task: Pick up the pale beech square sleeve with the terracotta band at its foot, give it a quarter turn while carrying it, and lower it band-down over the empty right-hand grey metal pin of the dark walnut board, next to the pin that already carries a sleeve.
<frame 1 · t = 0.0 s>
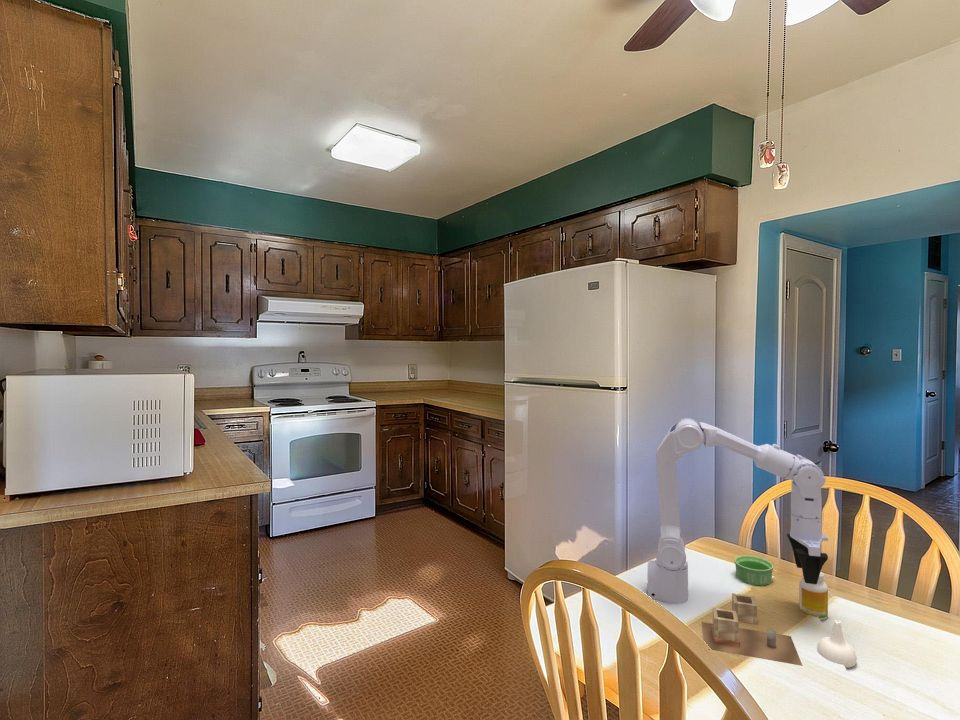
hand: (806, 575, 111), 10 cm above the table, tool pointing down, fingers open, 7 cm apart
garlic bulb: (836, 660, 98), on the table
pin board: (748, 646, 103), on the table
ramekin: (753, 579, 131), on the table
supplement bottle: (813, 615, 114), on the table
seated sleeve: (725, 638, 104), point 1 cm above the table, touching pin board
banded sleeve: (744, 621, 112), on the table
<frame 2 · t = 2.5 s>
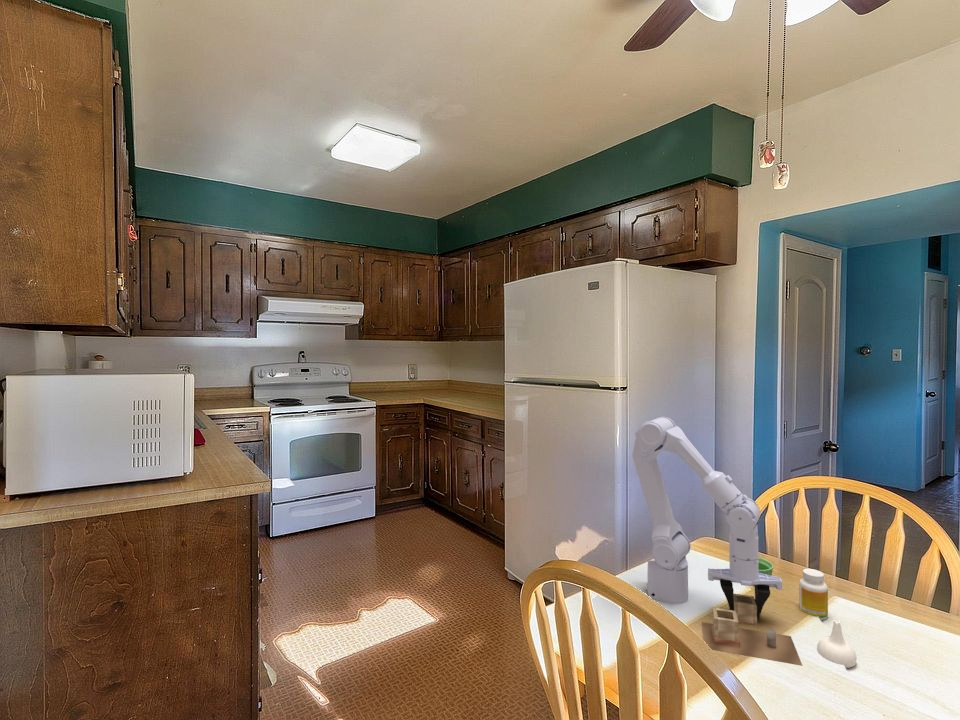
hand: (744, 615, 112), 1 cm above the table, tool pointing down, fingers closed on banded sleeve, 4 cm apart
banded sleeve: (744, 621, 112), on the table, touching gripper
everything else where it was.
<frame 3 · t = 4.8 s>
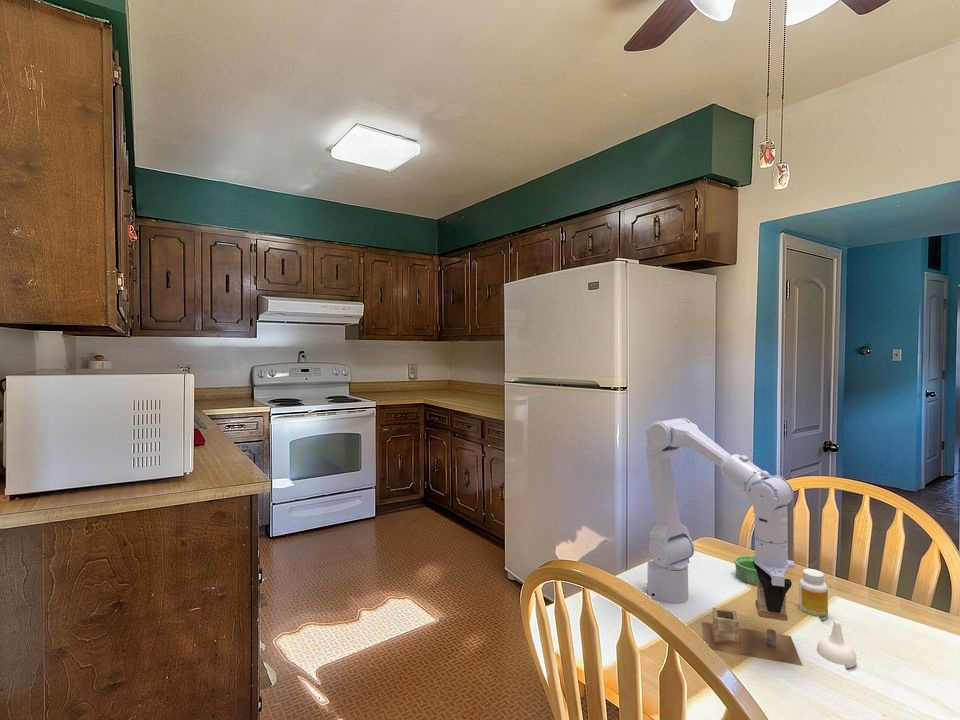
hand: (771, 605, 101), 9 cm above the table, tool pointing down, fingers closed on banded sleeve, 4 cm apart
banded sleeve: (771, 612, 101), point 8 cm above the table, touching gripper
everything else where it was.
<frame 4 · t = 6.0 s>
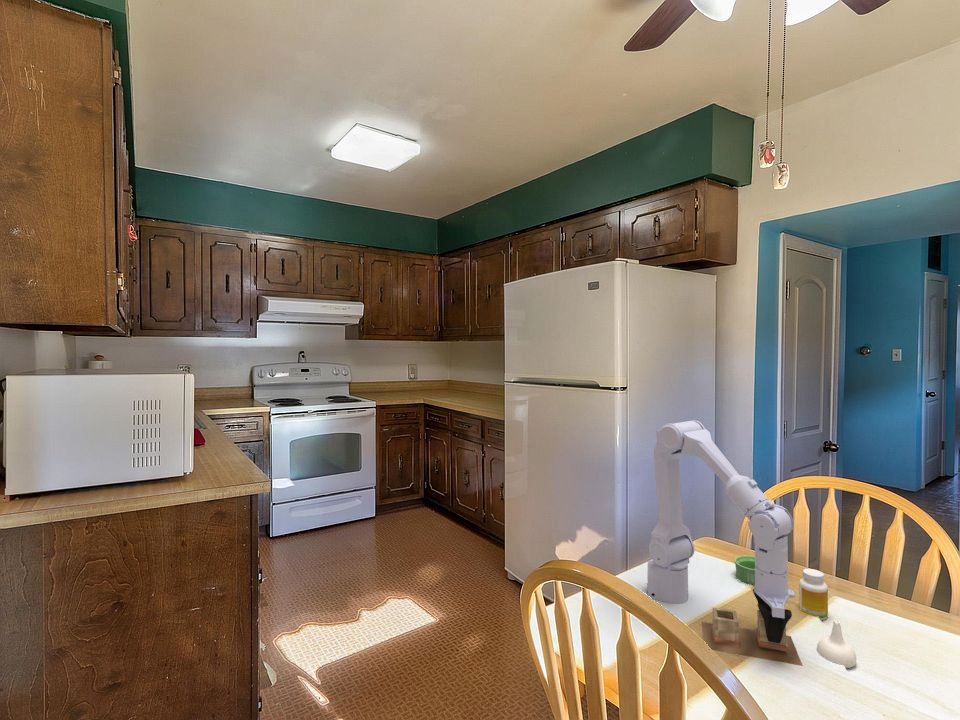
hand: (771, 634, 101), 3 cm above the table, tool pointing down, fingers closed on banded sleeve, 4 cm apart
banded sleeve: (771, 641, 101), point 2 cm above the table, touching gripper
everything else where it was.
when the fingers open (3 cm above the table, at t = 7.0 s): banded sleeve stays where it is, resting on pin board.
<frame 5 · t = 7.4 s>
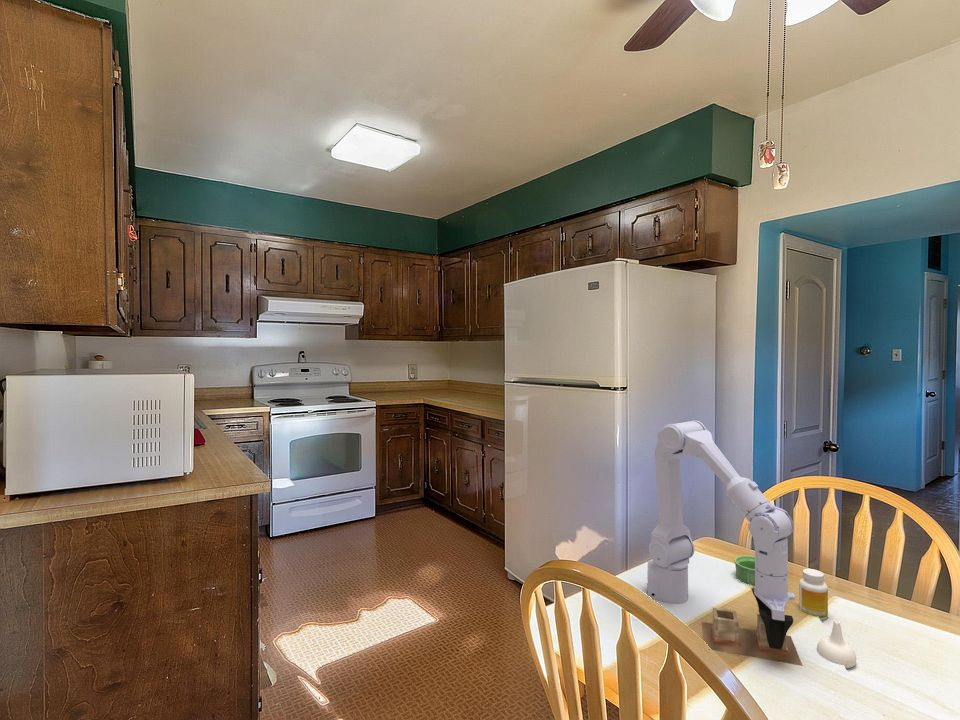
hand: (771, 636, 101), 3 cm above the table, tool pointing down, fingers open, 7 cm apart
banded sleeve: (771, 645, 101), point 1 cm above the table, touching pin board
everything else where it was.
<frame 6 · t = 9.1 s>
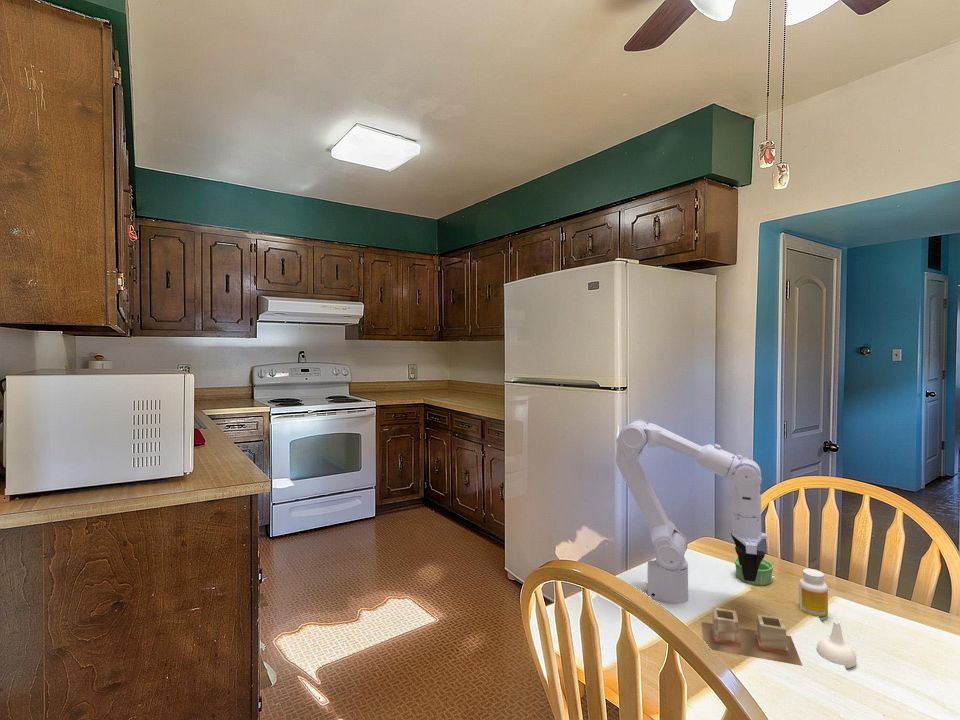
hand: (747, 572, 114), 10 cm above the table, tool pointing down, fingers open, 7 cm apart
nothing on the table moved.
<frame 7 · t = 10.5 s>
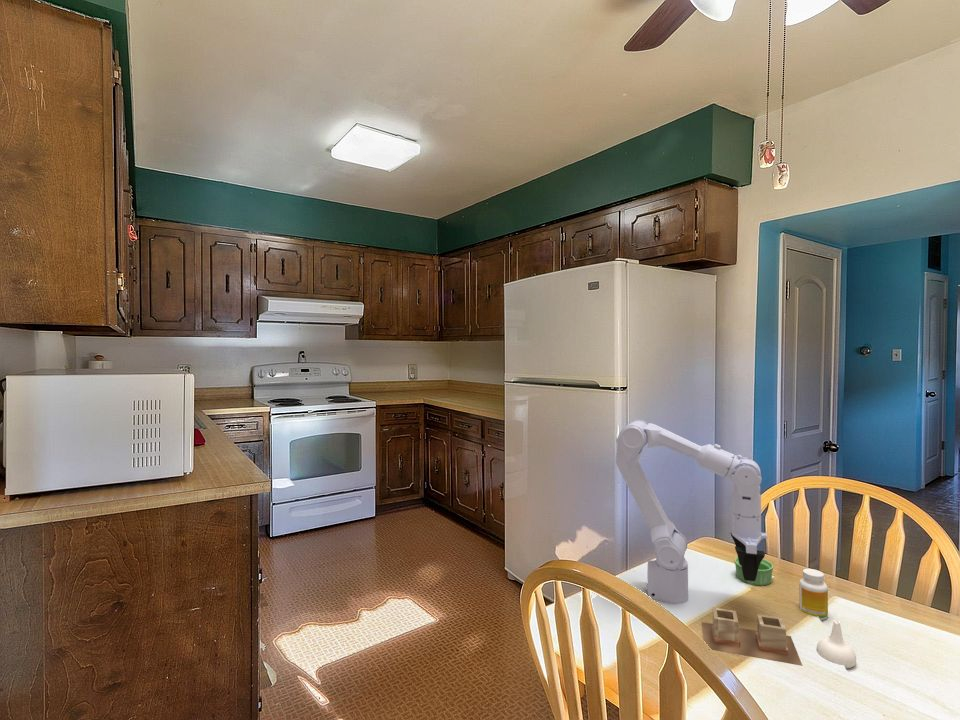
hand: (747, 572, 114), 10 cm above the table, tool pointing down, fingers open, 7 cm apart
nothing on the table moved.
at the end: banded sleeve 0.1 cm from the target spot on the pin board, point 1.0 cm above the pin board's base; banded sleeve tilted 0°; the gripper is holding nothing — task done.
